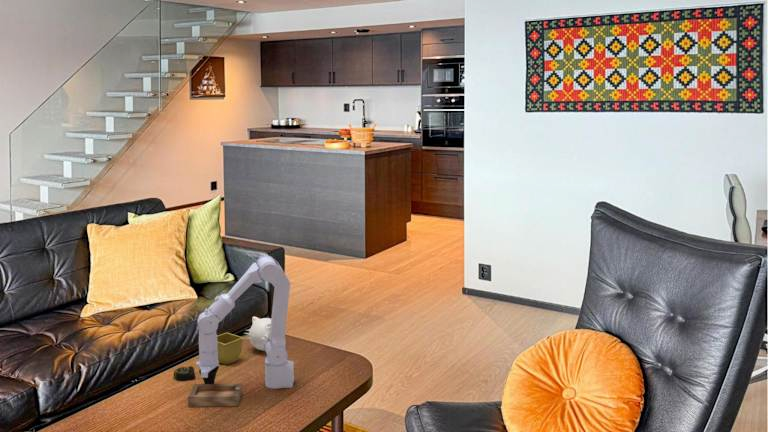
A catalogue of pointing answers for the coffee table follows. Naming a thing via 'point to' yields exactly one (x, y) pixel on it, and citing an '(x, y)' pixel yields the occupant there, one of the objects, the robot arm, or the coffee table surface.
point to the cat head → (259, 332)
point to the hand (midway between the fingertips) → (209, 389)
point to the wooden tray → (215, 395)
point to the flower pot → (229, 348)
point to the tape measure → (184, 374)
